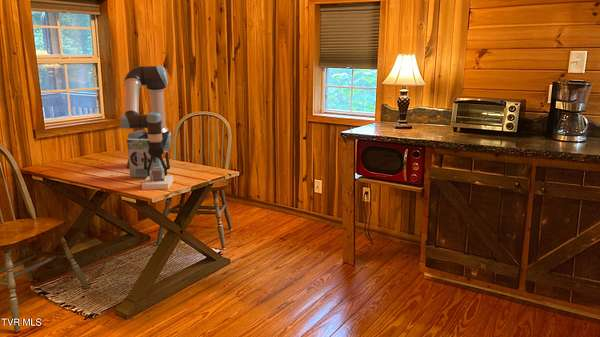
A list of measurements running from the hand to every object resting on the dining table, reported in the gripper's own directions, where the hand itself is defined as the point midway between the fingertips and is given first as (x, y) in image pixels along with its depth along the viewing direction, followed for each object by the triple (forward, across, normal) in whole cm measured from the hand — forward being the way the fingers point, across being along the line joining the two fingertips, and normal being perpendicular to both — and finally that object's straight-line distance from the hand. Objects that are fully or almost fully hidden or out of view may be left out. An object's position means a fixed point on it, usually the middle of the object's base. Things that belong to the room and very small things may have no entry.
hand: (157, 181), depth 274 cm
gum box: (+2, -10, +19) cm, 22 cm away
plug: (+2, 0, -1) cm, 2 cm away
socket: (+2, 0, 0) cm, 2 cm away
